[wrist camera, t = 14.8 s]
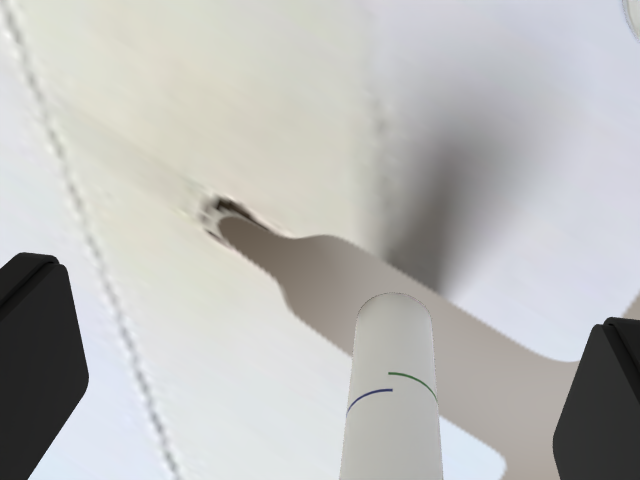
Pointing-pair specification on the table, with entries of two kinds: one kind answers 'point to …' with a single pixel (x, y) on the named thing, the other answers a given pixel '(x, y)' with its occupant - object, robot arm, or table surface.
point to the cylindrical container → (392, 395)
